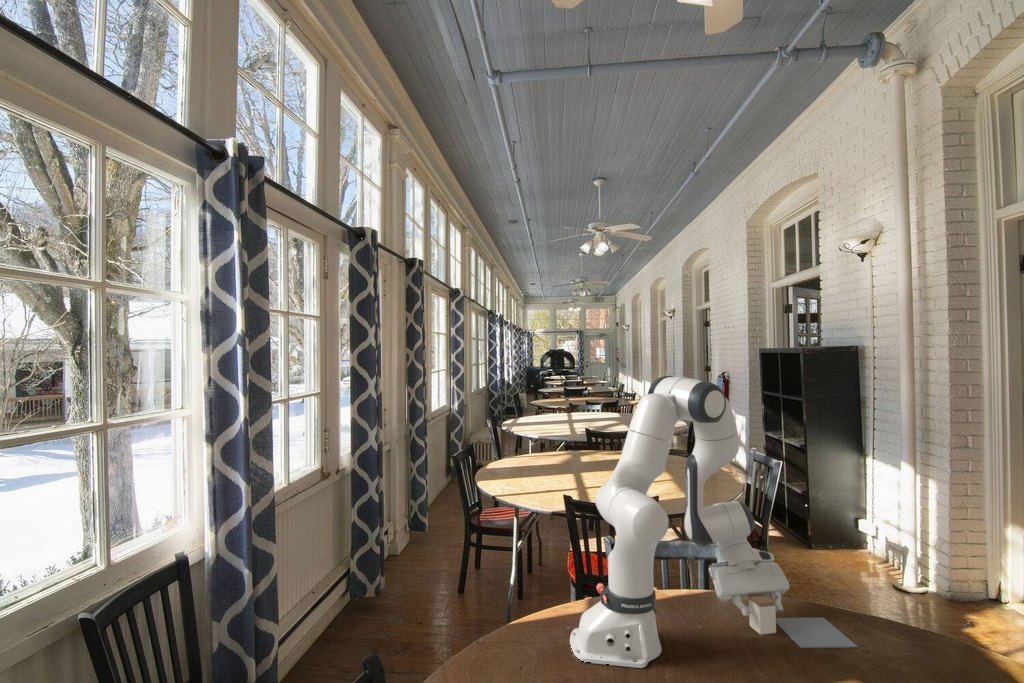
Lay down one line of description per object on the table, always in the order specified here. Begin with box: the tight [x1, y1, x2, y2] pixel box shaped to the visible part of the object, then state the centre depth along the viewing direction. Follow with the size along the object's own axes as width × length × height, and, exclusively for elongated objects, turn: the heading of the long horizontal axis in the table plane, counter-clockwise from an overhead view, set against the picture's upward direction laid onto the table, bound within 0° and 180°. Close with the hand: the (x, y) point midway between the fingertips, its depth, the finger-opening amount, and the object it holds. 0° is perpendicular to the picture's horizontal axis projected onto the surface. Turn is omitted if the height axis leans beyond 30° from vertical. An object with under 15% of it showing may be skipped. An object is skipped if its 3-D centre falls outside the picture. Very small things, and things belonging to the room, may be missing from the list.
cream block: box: [748, 594, 777, 635], centre depth 137 cm, size 4×4×8 cm
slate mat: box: [776, 617, 859, 649], centre depth 135 cm, size 14×14×1 cm
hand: (763, 613), depth 136 cm, fingers open, 8 cm apart
